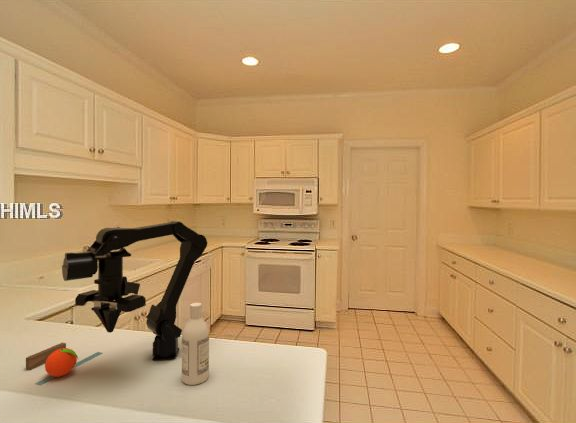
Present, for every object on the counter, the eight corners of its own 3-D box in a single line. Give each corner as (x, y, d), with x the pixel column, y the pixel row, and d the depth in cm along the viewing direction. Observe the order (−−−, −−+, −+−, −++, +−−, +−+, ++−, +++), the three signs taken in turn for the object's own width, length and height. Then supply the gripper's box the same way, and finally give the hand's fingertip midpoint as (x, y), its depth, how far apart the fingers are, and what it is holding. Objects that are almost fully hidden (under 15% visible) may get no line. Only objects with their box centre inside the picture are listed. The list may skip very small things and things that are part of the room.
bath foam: (210, 370, 84) (211, 299, 83) (206, 385, 77) (206, 308, 76) (185, 371, 83) (185, 300, 83) (178, 386, 76) (179, 308, 76)
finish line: (102, 353, 93) (102, 352, 93) (40, 386, 76) (40, 385, 76) (97, 352, 94) (97, 351, 94) (34, 384, 76) (34, 383, 76)
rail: (66, 354, 92) (66, 343, 92) (29, 371, 83) (29, 358, 83) (62, 353, 93) (62, 342, 93) (25, 370, 83) (25, 357, 83)
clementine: (85, 368, 84) (87, 343, 84) (68, 383, 77) (70, 356, 77) (57, 366, 84) (58, 341, 84) (37, 381, 77) (38, 354, 77)
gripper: (160, 271, 85) (160, 325, 85) (109, 266, 91) (109, 317, 91) (129, 279, 75) (128, 341, 75) (73, 274, 80) (73, 332, 80)
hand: (110, 331), depth 80 cm, fingers closed
